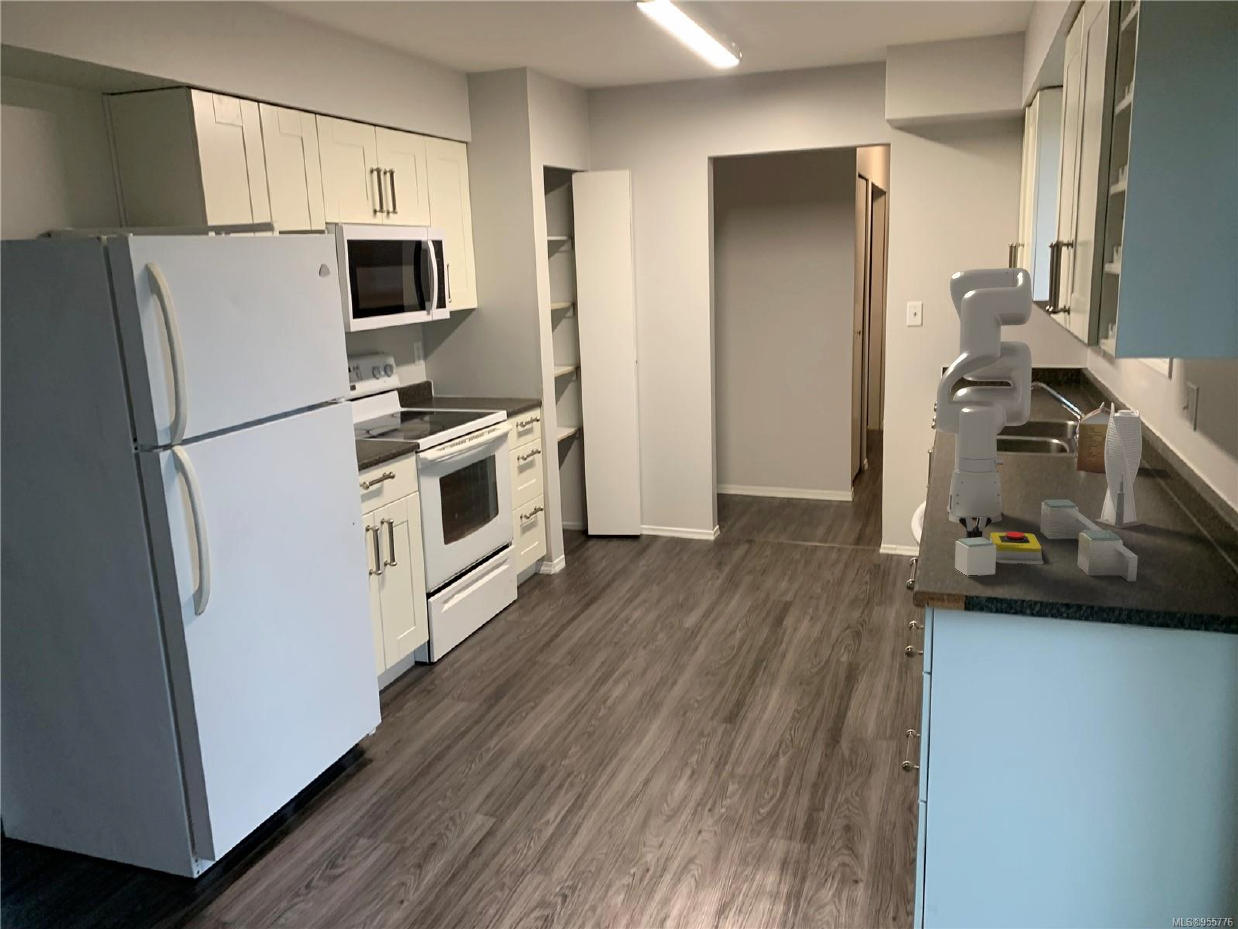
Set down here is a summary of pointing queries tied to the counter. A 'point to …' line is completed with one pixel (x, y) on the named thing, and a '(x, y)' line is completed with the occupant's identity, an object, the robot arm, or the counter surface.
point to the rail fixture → (1088, 540)
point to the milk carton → (1093, 440)
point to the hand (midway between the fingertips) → (973, 547)
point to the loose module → (975, 556)
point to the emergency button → (1017, 548)
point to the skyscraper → (1121, 468)
